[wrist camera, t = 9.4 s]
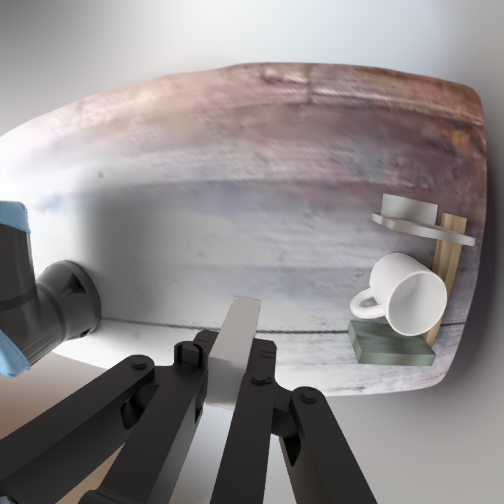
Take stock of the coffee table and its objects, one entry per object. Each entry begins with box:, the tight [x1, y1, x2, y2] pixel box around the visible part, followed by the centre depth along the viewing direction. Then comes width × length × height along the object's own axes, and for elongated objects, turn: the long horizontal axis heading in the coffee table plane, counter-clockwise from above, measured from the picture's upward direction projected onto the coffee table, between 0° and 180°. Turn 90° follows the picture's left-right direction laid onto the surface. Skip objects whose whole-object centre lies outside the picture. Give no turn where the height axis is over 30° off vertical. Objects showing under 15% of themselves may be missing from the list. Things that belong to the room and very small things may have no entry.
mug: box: [350, 253, 447, 336], centre depth 35 cm, size 12×8×10 cm
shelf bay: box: [348, 194, 475, 366], centre depth 35 cm, size 13×23×10 cm, turn 174°
